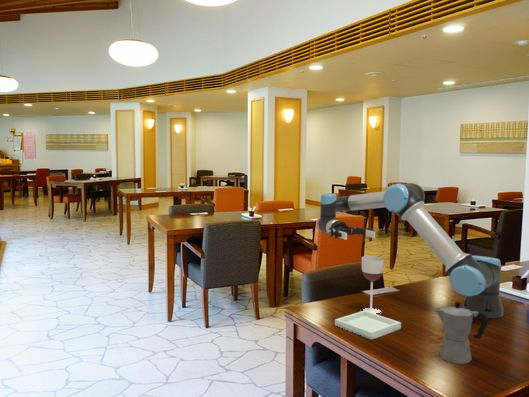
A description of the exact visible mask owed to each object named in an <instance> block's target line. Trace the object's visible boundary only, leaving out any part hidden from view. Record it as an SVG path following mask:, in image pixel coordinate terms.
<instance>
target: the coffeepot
mask: <svg viewBox="0 0 529 397" xmlns="http://www.w3.org/2000/svg"><path fill="white" fill-rule="evenodd" d="M461 304H462V302H459V301H454V306H446V307H445V306H444V307H439V308H435V309H434V312H436V313H437V315H438V317H439V318H440V320H441V322H442V328H443V329H442V330H443V331H444V335H443V339H442V342H441V346H440V347H441V348H440V351H439V356H440V358H441V359H442V360H443V361H445V362H448V363H450V364H451V363H452V364H456V365H466V364H469V363H470V362H471V361H472V360H473V359H472V353H471V346H470V345H471V344H470V340H469V335H470V332H471V330H472V324H473V321H474V320H473V319H481V322H480V327H479V328H478V332H477V334H473V335H472V336H473V339H481V338H482V337H483V335H484V332H485V331H486V328H487V326H488V324H489V319H490V318H488V317H487V316H486V315H485V314H484V313H483V312H475V311H470V310H468V309H464V308H463V307H461Z"/></svg>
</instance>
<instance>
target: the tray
mask: <svg viewBox="0 0 529 397" xmlns="http://www.w3.org/2000/svg"><path fill="white" fill-rule="evenodd" d="M334 326H335V327H337V326H338V327H337V328H339V327H340V329H342V328H343V330H345V331H347V330H348V332H350V333H352V332H353V334H356V335H358V336H360V335H361V337H363V338H366V339H368V340H374V339H377V338H380V337H383V336H385V335H388V334H390V333H394V332H395V331H399V330H401V328H402V322H400V321H398V320H395V319H392V318H389V317H385V316H382V315H381V314H373V313H370V312H367V311H361V310H360V311H358V312H355V313H352V314H349V315H345V316H342V317H338V318H334Z"/></svg>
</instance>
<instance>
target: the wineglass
mask: <svg viewBox="0 0 529 397" xmlns="http://www.w3.org/2000/svg"><path fill="white" fill-rule="evenodd" d="M360 258H361V271H362V274H363V276H364V277H365V279H367V280H369V281H370V300H369V307H365V309H363V308H362V309H363V311H367V312H370V313H373V314H376V313H380V312H381V313H382V311H381V310H380V309H378V308H375V309H374V308H373V296H374V294H373V291H374V290H373V289H374V287H373V286H374V282H375V281H377V280H379V279H380V278H381V276H382V275H383V274H382V273H383V271H384V270H383V269H384V261H385V260H384V257H381V256H376V255H364V256H362V257H360ZM377 309H378V310H377ZM381 313H380V314H381Z"/></svg>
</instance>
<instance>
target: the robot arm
mask: <svg viewBox="0 0 529 397" xmlns="http://www.w3.org/2000/svg"><path fill="white" fill-rule="evenodd" d="M425 197H426V195H425V191H424V189H423V188H422V187H421V186H420V185H419V184H416V183H413V182H410V183H395V184H392V185H390V186H388V187H387V189H386V190H385V191H384V190H383V191H377V192H369V193H367V192H366V193H360V194H351V195H345V196H344V195H343V196H337V194H336V193H322V194H321V195H320V210H319V211H320V213H319V214H320V216H319V218H318V219H317V222H316V228H317V229H318V230H319V231H320V232H322V234H323V233H324V234H328V235H330V237H331V238H335V239H336V240H337V239H338V238H340V239H343V240H345V241H346V240H348V236H354V235H361V236H365V237H368V238H371V239H376V231H373V229H371V228H369V227H367V228H364V227H357V226H348V225H347V223H345V222H344V221H341V220H337V213H341V212H349V211H360V210H372V209H381V208H386V209H387V210H388V211H389V212H390V213H391V212H392V213H395V214H396V215H397V216H398V217H399V218H400V219H401V220H402V221H407V222H408V223H409V224H410V226H411V227H412V228H413V229H414V231H416V233H417V234H418V235H419V236H420V238H421V239H422V240H423V241H424V242H425V243H426V245H427V246H428V247H429V248H430V249H431V251H432V252H433V253H434V254H435V256H436V257H437V258H438V259H439V260H440V261H441V262H442V264H443V266H445V273H446V274H447V275H448V277H449V284H450V286H451V288H452V289H453V290H454V291H455V292H456V294H457V293H458V294H459V295H462V296H465V299H464V301H463V303H462V308H464V309H468V310H470V311H475V312H483V313H484V314H485V315H486V316H487V317H488V319H499V318H500V319H501V318H502V317H503V316H504V306H503V304H502V300H501V297H500V291H501V290H500V287H501V274H502V273H501V271H502V270H501V269H502V263H501V260H500V258H495V257H492V256H491V257H489V256H483V255H472V254H470V253H465V252H463V250H462V249H461V248H460V247H459V246H458V245H457V244H456V242H454V240H453V239H452V238H451V237H450V235H448V234H447V232H446V231H445V230H444V229H443V228H442V226H441V225H440V224H439V223H438V222H437V221H436V219H434V218H433V216H432V215H431V214H430V212H428V211H427V209H426V208H425Z"/></svg>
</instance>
